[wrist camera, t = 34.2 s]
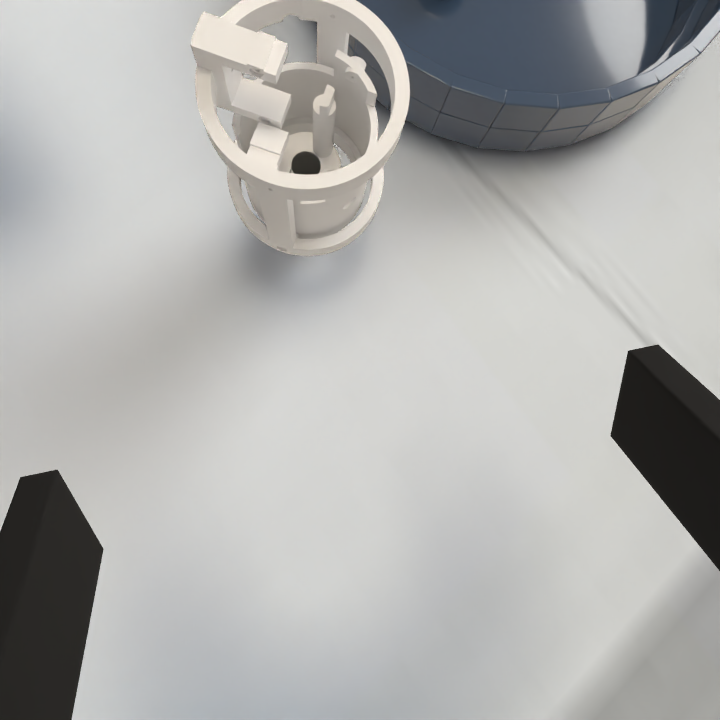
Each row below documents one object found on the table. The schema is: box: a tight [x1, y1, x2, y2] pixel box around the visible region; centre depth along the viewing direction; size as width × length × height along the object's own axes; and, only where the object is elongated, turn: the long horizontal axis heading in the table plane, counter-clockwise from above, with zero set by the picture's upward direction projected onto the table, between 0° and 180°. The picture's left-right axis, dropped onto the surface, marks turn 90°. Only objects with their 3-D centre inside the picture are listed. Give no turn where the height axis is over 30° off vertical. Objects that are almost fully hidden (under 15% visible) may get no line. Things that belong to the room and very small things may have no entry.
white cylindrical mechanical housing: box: [191, 0, 410, 256], centre depth 26 cm, size 7×7×15 cm
